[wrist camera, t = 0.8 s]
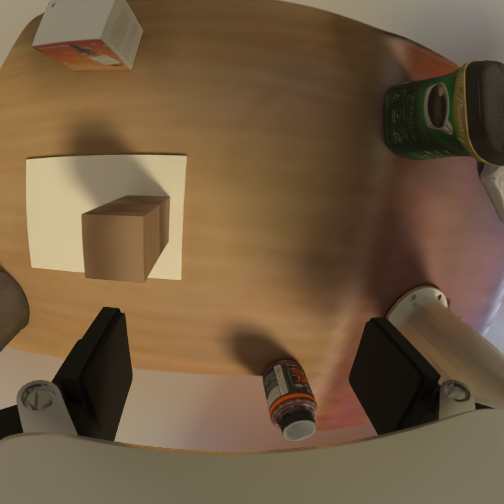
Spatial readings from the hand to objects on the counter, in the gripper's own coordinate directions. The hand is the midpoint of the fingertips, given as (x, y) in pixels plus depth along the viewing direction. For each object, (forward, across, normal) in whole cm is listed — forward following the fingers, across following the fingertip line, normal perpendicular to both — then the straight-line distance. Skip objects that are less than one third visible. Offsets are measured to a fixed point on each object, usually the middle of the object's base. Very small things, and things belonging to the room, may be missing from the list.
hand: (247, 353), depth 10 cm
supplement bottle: (+24, -9, +21) cm, 34 cm away
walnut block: (+24, +9, 0) cm, 26 cm away
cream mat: (+24, +15, 0) cm, 29 cm away
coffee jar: (+25, -21, -15) cm, 36 cm away
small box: (+25, +16, -20) cm, 35 cm away
